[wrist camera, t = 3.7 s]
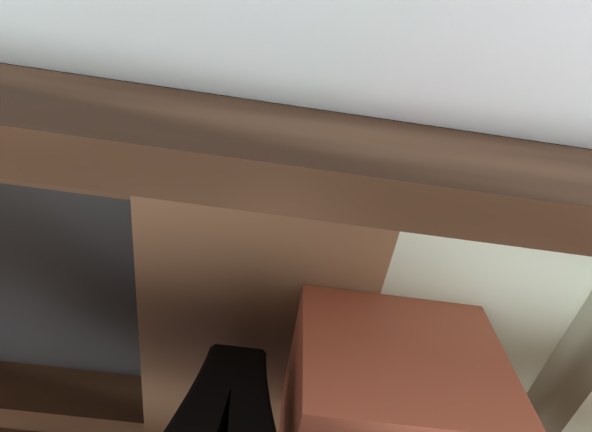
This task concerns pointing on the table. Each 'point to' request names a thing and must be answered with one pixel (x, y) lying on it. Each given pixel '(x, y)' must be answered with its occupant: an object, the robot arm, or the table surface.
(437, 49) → the table surface
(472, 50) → the table surface
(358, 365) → the block
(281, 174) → the wooden frame
